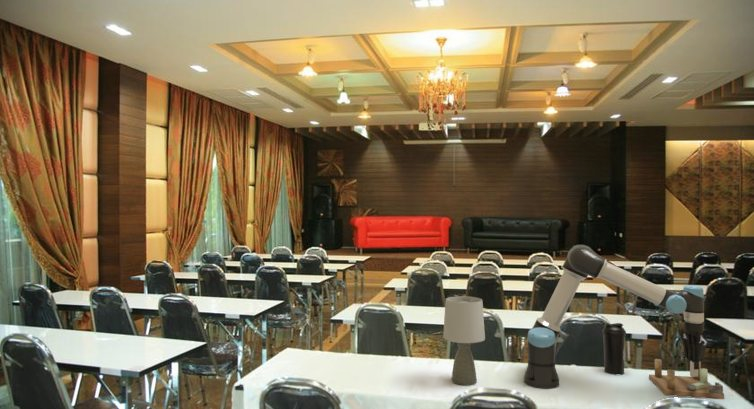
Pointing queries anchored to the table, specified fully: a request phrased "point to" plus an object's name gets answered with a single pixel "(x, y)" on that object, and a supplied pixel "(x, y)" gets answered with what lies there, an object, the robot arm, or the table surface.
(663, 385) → the stool seat
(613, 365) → the water bottle
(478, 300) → the lamp
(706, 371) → the hinged leg
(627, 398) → the table surface
